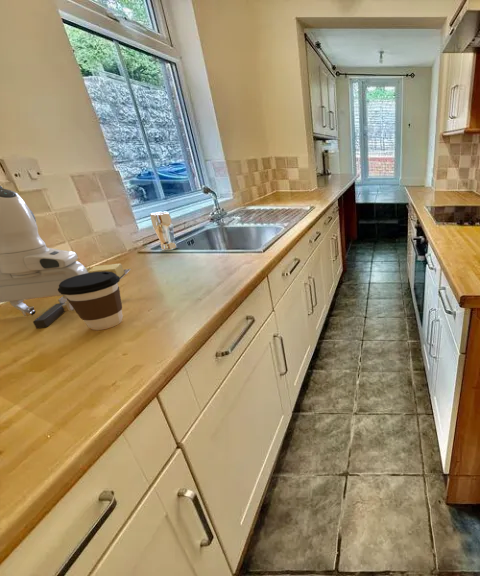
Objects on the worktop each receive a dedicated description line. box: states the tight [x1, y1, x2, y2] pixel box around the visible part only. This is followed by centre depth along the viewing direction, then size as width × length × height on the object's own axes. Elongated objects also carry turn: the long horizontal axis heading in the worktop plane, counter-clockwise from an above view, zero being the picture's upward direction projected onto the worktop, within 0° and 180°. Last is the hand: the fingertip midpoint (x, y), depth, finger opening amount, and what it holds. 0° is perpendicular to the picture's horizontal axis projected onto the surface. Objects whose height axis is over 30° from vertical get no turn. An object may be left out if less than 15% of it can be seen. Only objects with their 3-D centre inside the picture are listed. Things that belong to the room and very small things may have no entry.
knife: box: [32, 296, 67, 329], centre depth 85 cm, size 21×2×3 cm, turn 20°
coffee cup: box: [58, 271, 123, 331], centre depth 76 cm, size 11×11×12 cm
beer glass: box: [149, 211, 179, 251], centre depth 133 cm, size 7×7×15 cm
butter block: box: [88, 263, 125, 278], centre depth 101 cm, size 7×6×4 cm
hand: (50, 312), depth 80 cm, fingers open, 6 cm apart
